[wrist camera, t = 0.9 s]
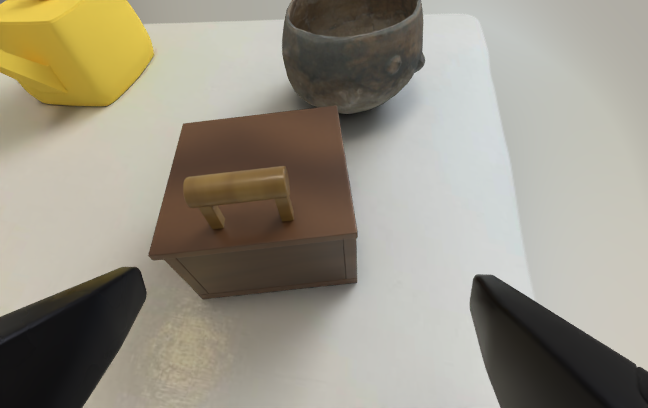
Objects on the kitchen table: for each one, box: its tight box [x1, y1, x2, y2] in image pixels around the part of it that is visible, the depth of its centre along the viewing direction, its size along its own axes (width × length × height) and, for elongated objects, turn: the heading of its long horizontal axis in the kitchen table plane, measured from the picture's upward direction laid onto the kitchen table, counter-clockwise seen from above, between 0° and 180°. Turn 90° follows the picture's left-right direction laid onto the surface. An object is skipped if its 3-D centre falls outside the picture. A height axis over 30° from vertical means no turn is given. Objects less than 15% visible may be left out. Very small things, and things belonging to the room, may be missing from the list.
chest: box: [164, 238, 357, 299], centre depth 26 cm, size 11×12×7 cm
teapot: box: [0, 0, 154, 106], centre depth 41 cm, size 20×12×12 cm, turn 170°
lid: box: [148, 105, 357, 260], centre depth 21 cm, size 11×12×4 cm
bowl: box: [282, 0, 425, 114], centre depth 35 cm, size 14×15×10 cm
